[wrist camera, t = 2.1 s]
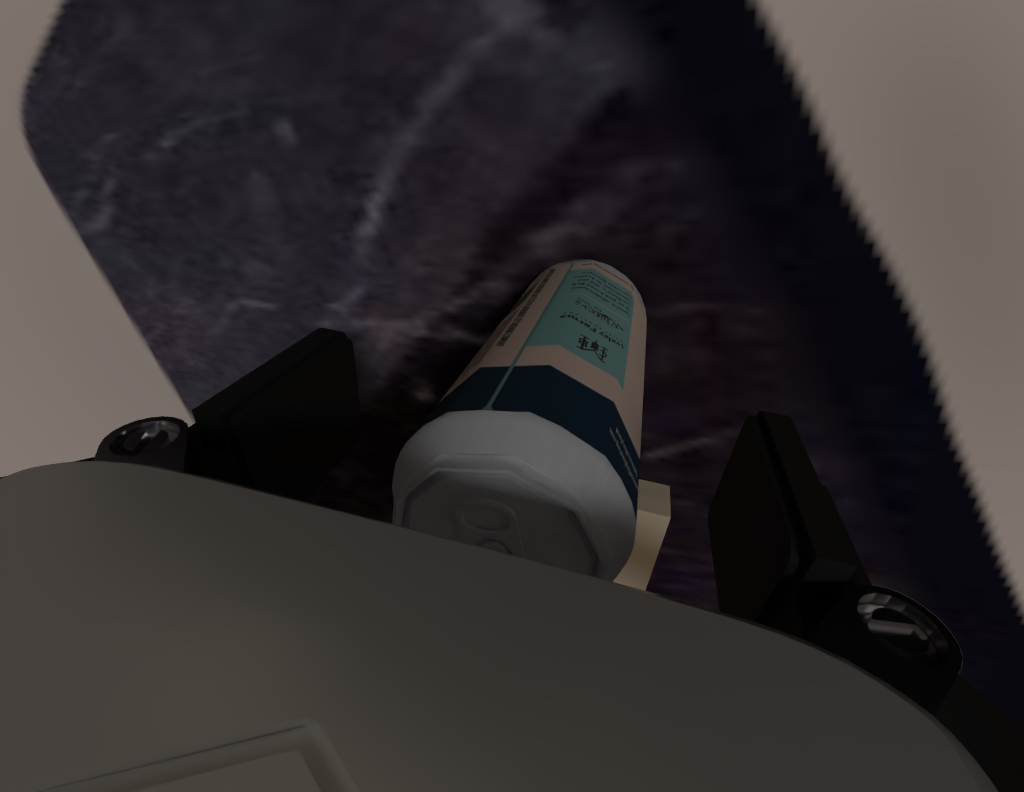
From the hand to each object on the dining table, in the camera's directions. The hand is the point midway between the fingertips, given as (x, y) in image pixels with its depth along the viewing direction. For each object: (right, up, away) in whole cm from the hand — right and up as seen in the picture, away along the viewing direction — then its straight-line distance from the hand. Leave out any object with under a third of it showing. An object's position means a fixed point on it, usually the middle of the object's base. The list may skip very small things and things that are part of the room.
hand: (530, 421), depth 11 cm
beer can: (+2, +4, +7) cm, 8 cm away
